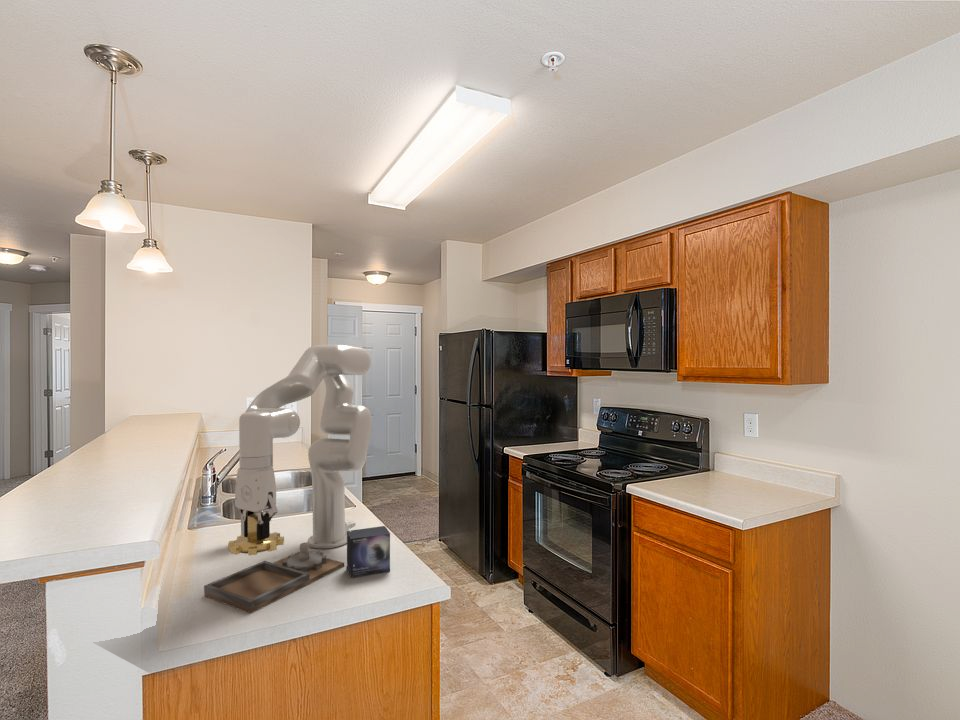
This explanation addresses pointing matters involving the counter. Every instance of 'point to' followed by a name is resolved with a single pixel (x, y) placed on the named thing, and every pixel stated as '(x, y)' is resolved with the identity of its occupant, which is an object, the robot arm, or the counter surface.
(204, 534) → the counter surface
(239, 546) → the gear
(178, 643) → the counter surface
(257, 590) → the carrier plate
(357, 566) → the small box
